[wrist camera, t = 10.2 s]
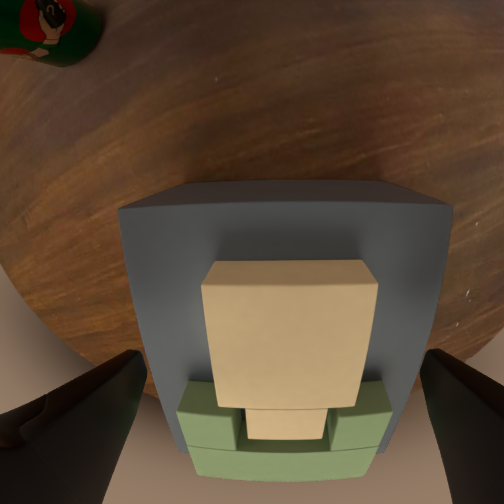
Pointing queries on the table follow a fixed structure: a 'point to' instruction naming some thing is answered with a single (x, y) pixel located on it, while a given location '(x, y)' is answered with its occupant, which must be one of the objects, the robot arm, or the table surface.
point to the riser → (283, 248)
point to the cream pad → (288, 340)
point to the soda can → (48, 30)
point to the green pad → (282, 451)
